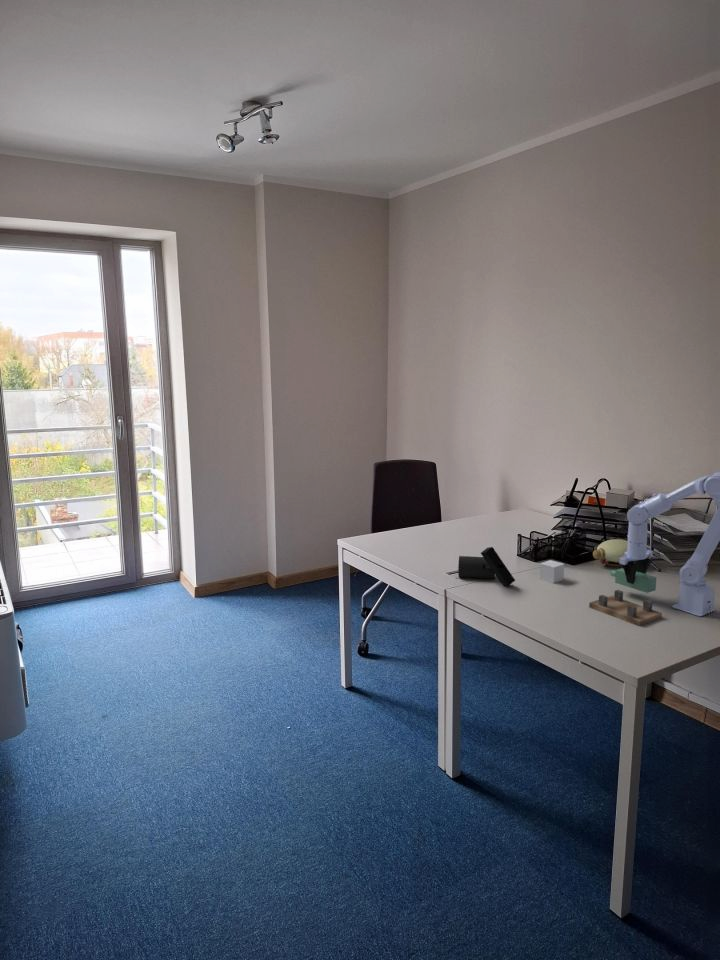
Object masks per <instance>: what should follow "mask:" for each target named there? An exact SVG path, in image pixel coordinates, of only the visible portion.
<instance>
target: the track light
mask: <svg viewBox="0 0 720 960" xmlns="http://www.w3.org/2000/svg"><path fill="white" fill-rule="evenodd" d="M480 555H481V556H469V555H467V556H466V555H465V556H464V555H459V556H458V567H457V568H458V569H457V570H458V571H457V574H458V578H471V577H473V578H474V579H492V580H494V579H495V578H497V579H498V580H499V582H500V583H501V585H502V586H503V585H504V586H503V587H509V586H510V585H511V584H513V583H514V582H515V581H516V579H515V578H514V576H513V575H512V573H511V572H510V571H509V569H508V568H507V566H506V565H505V563H504V561H503V560H502V559H501V557H500V556H499V554H498V553H497V551H496V550H495V548H494V547H493V546H489V547H486V548H485V549H484V550H482V551H481V552H480Z"/></svg>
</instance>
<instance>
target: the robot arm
mask: <svg viewBox="0 0 720 960" xmlns="http://www.w3.org/2000/svg"><path fill="white" fill-rule="evenodd" d="M694 494H698V495H705V494H707V495H708V496H709V497H710V498H711V499H712V500H713V502H714V503H715V506H716V507H717V509H716V511H715V513H714V515H713V517H712V518H711V520H710V523H709V524H708V526H707V528H706V530H705V531H704V533H703V535H702V537H701V539H700V541H699V543H698V544H697V546H696V548H695V550H694V552H693V554H692V555H691V557H690V558H688V560H687V561H686V562H685V564H684V565H683V566H681V568H680V569H679V590H678V603H676V604H673V605H672V606H671V607H672V608H673V609H676V610H679V611H683V612H686V613H688V614H692V615H695V616H698V617H702V616H705V614H706V615H707V613H708V614H711V613H713V612H715V610H716V609H714V607H715V606H714V605H715V597H716V596H715V595H716V592H715V588H714V587H712V586H710V585H708V583H707V580H706V578H705V577H704V576H705V574H707V572H708V568H709V567H708V563H709V561H710V559H711V556H712V555H713V553H714V552H715V549H716V548H717V546H718V545H719V543H720V470H718V471H715V472H713V473H712V474H708V475H705V476H702V477H698V478H696V479H694V480H692V481H690V482H689V483H687V484H685V485H683V486H681V487H679V488H678V489H676V490H674V491H672V492H669V493H668V494H666V493H661V492H660V493H657V492H656V493H654V494H652V495H651V496H652V497H650V498H647V499H646V500H641V501H639V502H638V504H636V505H633V506H632V507H630V509H629V510H628V511H627V512H626V513H627V514H626V517H627V520H628V527H627V528H628V530H627V541H628V547H627V552H625V555H624V556H623V557H621V558H620V562H619V565H622V566H621V568H623V569H624V572H625V575H626V579H627V582H628V583H631V584H634V581H635V574H636V571H637V572H641V573H644V574H647V571H648V569H649V567H650V566H651V564H652V562H653V560H652V559H650V558H653V556H654V551H653V550H649V549H647V547H648V545H647V544H648V520H649V519H652V518H655V517H657V516H659V515H661V514H664V513H666V512H667V511H669V510H671V509H672V505H673V504H674V503H677V502H678V501H682V500H684V499H685V498H688V497H690V496H692V495H694ZM712 611H713V612H712ZM710 612H711V613H710Z"/></svg>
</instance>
